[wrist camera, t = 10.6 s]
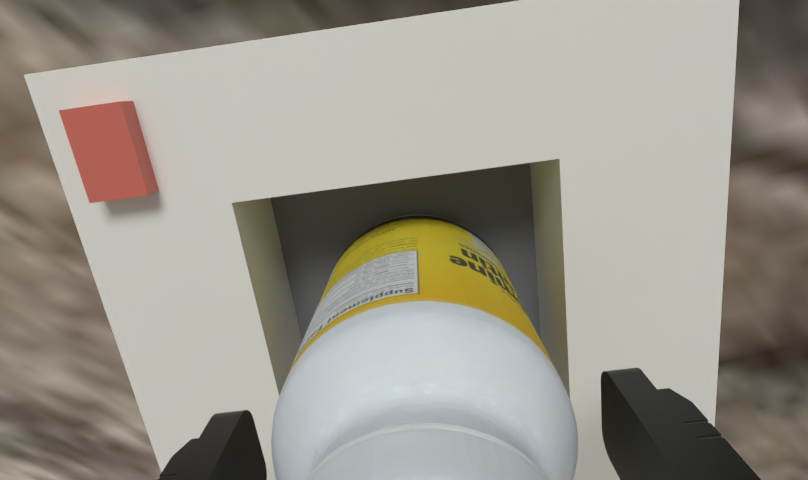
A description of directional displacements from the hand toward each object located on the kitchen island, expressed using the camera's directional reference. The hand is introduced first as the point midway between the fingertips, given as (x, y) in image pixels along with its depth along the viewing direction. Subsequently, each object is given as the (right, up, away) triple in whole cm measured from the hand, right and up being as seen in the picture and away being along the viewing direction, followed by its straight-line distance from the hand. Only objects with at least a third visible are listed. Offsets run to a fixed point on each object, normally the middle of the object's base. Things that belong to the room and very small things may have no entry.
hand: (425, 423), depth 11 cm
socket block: (0, +2, +8) cm, 8 cm away
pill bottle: (0, +2, +7) cm, 8 cm away
